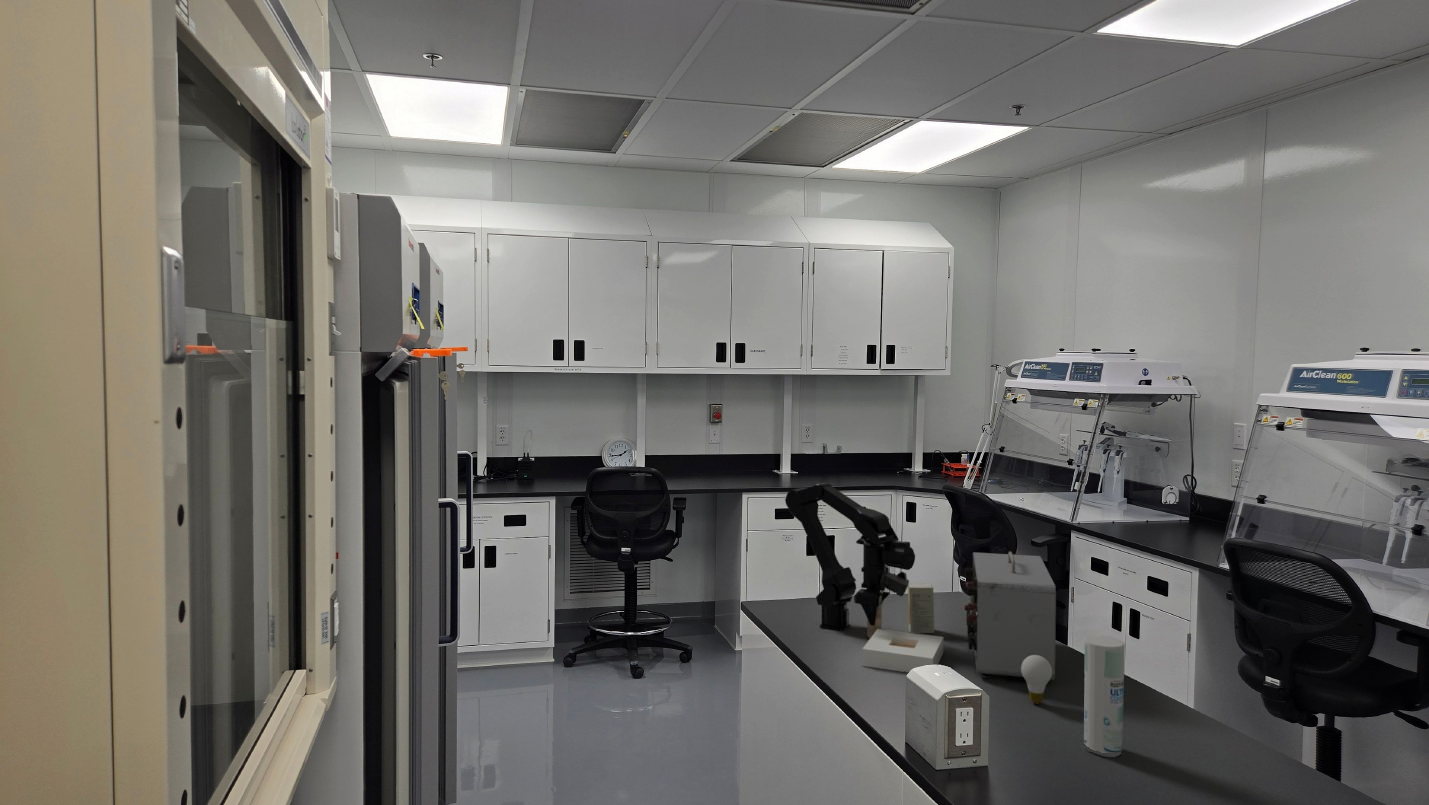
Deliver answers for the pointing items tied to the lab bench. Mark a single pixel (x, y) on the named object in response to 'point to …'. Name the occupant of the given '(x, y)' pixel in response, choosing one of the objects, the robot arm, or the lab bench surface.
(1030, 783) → the lab bench surface
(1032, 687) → the light bulb
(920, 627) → the skincare box
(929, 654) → the socket block
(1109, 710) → the spray can
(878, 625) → the wooden peg
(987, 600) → the vintage electronic device
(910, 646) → the plunger plate
